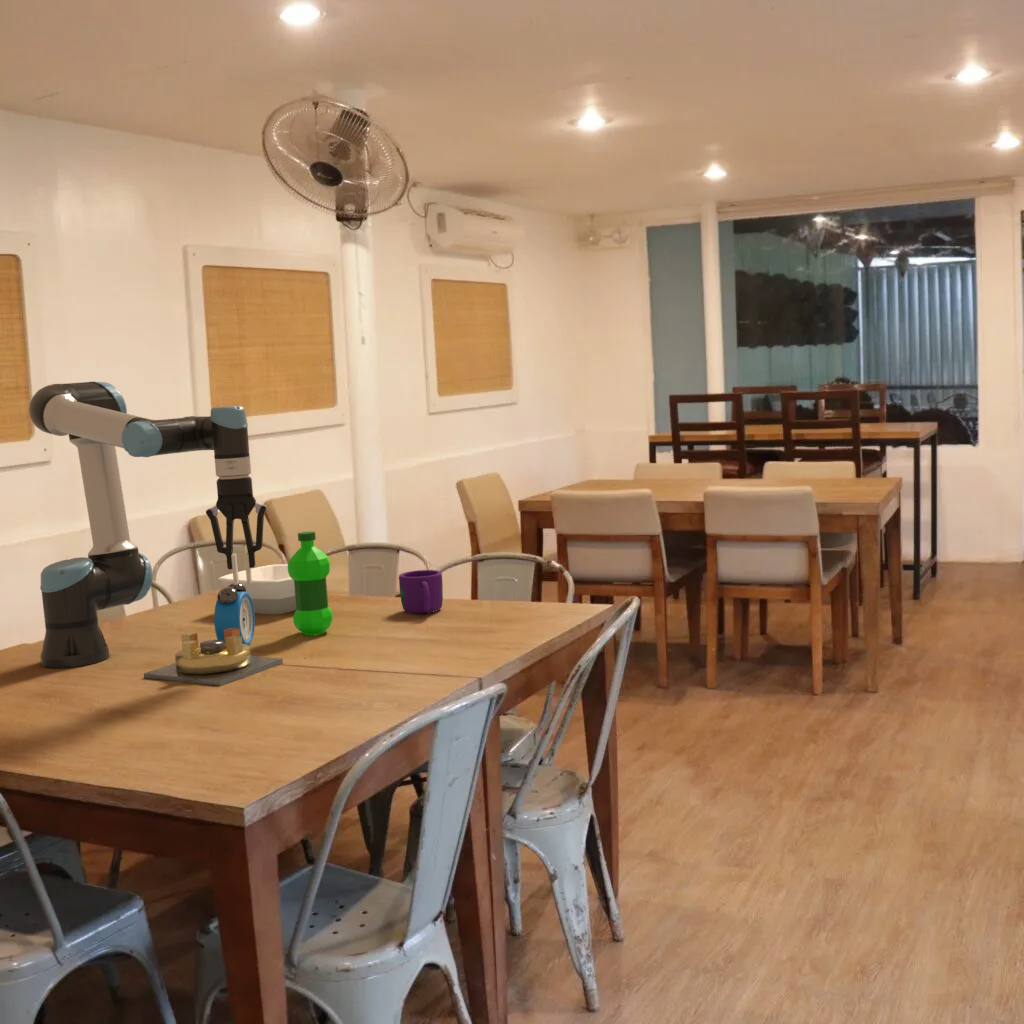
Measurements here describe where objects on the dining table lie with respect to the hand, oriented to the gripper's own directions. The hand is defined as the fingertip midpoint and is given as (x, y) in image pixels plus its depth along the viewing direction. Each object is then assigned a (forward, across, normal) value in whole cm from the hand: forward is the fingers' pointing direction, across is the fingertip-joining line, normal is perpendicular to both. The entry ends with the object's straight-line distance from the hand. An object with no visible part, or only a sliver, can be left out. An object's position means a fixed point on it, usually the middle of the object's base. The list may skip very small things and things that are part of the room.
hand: (242, 582), depth 270 cm
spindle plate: (+18, -7, -3) cm, 20 cm away
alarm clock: (+19, -5, +20) cm, 28 cm away
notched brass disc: (+17, -7, -3) cm, 19 cm away
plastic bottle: (+19, +12, +29) cm, 37 cm away
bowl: (+19, 0, +66) cm, 68 cm away
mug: (+19, +40, +44) cm, 62 cm away
